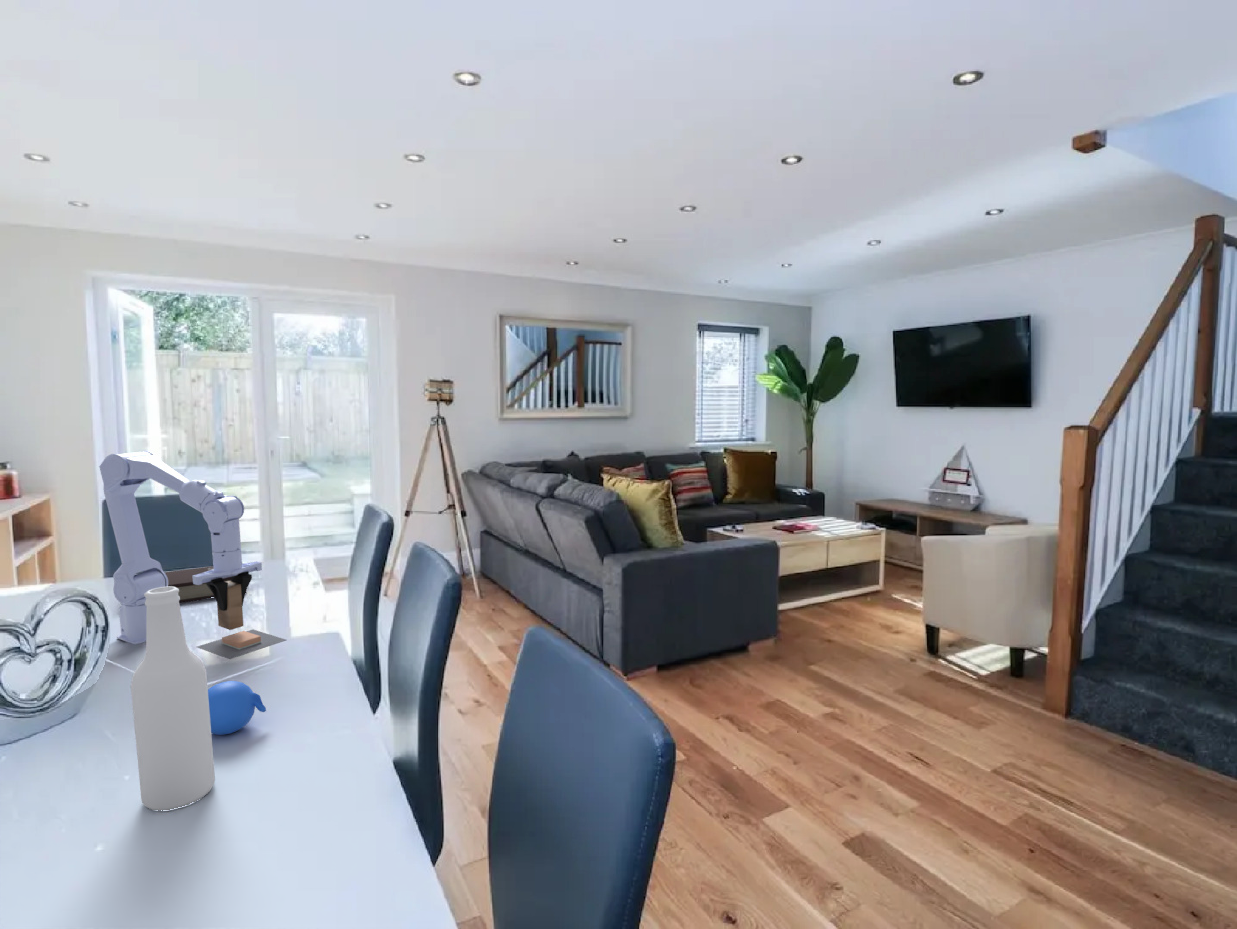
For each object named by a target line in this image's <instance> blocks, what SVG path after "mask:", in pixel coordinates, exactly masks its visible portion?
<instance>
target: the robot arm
mask: <svg viewBox="0 0 1237 929" xmlns="http://www.w3.org/2000/svg"><path fill="white" fill-rule="evenodd" d="M98 467H99V471H100V475H101V479H102V482H103V494H104V497H105V501H106V505H107V509H108V513H109V518H110V522H111V527H112V530H113V533H114V538H115V542H116V545H117V546H116V547H117V550H118V553H119V558H120V561H121V565H120V566H119V567H118V569H116V571H114V573H113V576H112V577H113V581H114V582H113V596H114V598H115V599H116V600H117V601H118V602H119V603H120V605H121V606H120V607H119V611H118V616H119V624H120V635H117V636H116V639H119V640H121V641H123V642H125V643H129V644H132V645H139V644H142V643H145V642H146V623H147V606H146V605H145V601H146V597H145V596H144V594H145V593H146V592H147V591H149V590H151V589H155V588H160V587H168V578H167V576H166V574H165V573H164V572H165V571H164V570H163V568H162V565H161V563H160V561H158V560H156V559H153V558H151V557H150V552H149V548H148V544H147V540H146V536H145V532H144V527H143V524H142V521H141V515H140V512H139V508H138V505H137V500H136V496H135V494H136V492H137V490H138V489H139V488H140V486H141V485H143V484H144V483H146V482H147V481H149V480H150V479H151V480H152V481H154V482H156V483H158V484H161V485H162V486H164V487H167V489H170V490H172V491H174V492H175V493H177V494H178V497H179V499H180V501H181V502H183V503H184V504H186V505H188V506H189V507H192V508H193V509H195V510H196V511H198V512H200V513H201V514H202V518H203V519H204V521H205V522H206V523H207V526H208V530H209V532H210V540H211V552H212V553H211V554H212V564H213V565H212V566H213V567H214V569H213V570H210V571H207V572H204V573H201V574H197V575H193V584H195V585H201V584H202V583H206V585H207V586H208V587H209V589H210V590H211V591H212V593H213V595H214V597H215V598H214V599H215V600H216V605H217V604H218V606H219V610H222V611H226V610H227V586H228V583H227V582H224V580H222V579H223V578H227V577H230V578H231V581H232V582H235V583H238V584H241V594H242V607H243V606H244V601H245V596H246V594H247V589H248V587H249V585H250V583H251V581H252V580H253V575H252V574H251V573H252V572H259V571H263V567H262V566H263V565H262V562H261V561H252V562H251V561H250V562H245V563H243V557H242V556H243V555H242V544H241V543H242V542H241V529H240V528H241V527H240V519H242V517H243V515H244V513H245V505H244V503H243V501H242V500H241V499H240V498H239V497H238V496H237V495H234V494H232V495H225V494H224V492H222V491H219V490H216V489H214V488H213V487H211V486H209V485H208V484H207V482H206V481H205V480H203V479H193V480H191V481H190V480H189V479H188V478H186V477H185V476H183V475H182V474H181V473H179V472H178V471H176V470H174V469H173V468H172V467H170V466H169V465H168V464H166V463H165V462H163V459H162V457H161V456H160V455H157V454H155V453H154V452H152V451H150V450H141V451H137V452H136V451H135V452H126V453H111V454H109V455H107V456H105V458H104V459H103V461H102V462H101V463H100V465H99V466H98ZM245 593H246V594H245Z"/></svg>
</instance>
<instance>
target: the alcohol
mask: <svg viewBox="0 0 1237 929" xmlns="http://www.w3.org/2000/svg"><path fill="white" fill-rule="evenodd" d="M178 592H179V589H178V588H176V587H171V586H169V587H160V588H155V589H151V590H149V591H147V592H146V593H145V594H144V596H145V597H146V601H145V605H146V606H147V623H146V646H145V647H146V648H145V650H146V651H145V655H144V657H143V660H142V661H141V662H140V664H138V666H137V668H136V669H135V671H134V672H133V675H132V678H131V685H130V692H131V693H130V694H131V706H132V715H133V726H134V735H135V747H136V757H137V767H138V768H137V769H138V778H139V779H138V781H139V788H140V791H139V792H140V800H141V803H142V805H144V807H146V808H147V809H148V808H149V809H148V810H150V809H152V810H158V811H161V810H162V811H163V810H170V809H174V808H178V807H182V806H185V805H188V804H190V803H192V802H195V801H197V800H199V799H201V798H202V797H203V798H205V797H206V796H207V795H208V794H209V793H210V791H211V790H212V788H213V786H214V785H215V782H216V775H215V763H214V749H213V740H212V739H213V736H212V733H211V724H210V711H209V699H208V689H209V688H208V678H207V669H206V667H205V664H204V662H203V659H201V658H200V656H198V655H197V654H195V653H194V652H193V651H191V650H190V648H189V646H188V644H187V640H186V632H185V626H184V622H183V618H182V617H183V616H182V611H181V607H180V603H179V600H180V596H178ZM208 792H209V793H208ZM206 794H207V795H206ZM205 795H206V796H205ZM204 796H205V797H204ZM203 798H202V799H203ZM202 799H201V800H202ZM199 801H200V800H199ZM197 802H198V801H197ZM195 803H196V802H195ZM152 810H151V811H152Z"/></svg>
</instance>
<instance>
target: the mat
mask: <svg viewBox="0 0 1237 929" xmlns="http://www.w3.org/2000/svg"><path fill="white" fill-rule="evenodd" d="M246 632H249V633H252V634H255V635H259V636H261V643H258V644H255V645H252V646H249V647H246V648H243V649H240V650H239V649H236V648H233V647H230V646H227V645H224V644H222V638H221V639H217V640H214V641H210V642H208V643H204V644H202V645H198V646H196V648H198V649H200V650H201V649H202V650H203V651H207V652H209V653H212V654H215V655H217V656H220V657H222V658H226V659H227V660H228V659H229V660H231V659H234V658H237V657H240V656H244V655H247V654H249V653H252V652H255V651H258V650H262V649H264V648H267V647H270V646H273V645H276V644H279V643H282V642H285V641H287V639H286V638H282V637H278V636H276V635H272V634H271V633H270V634H269V633H266V632H263V631H259V630H256V629H249V630H246Z"/></svg>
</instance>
